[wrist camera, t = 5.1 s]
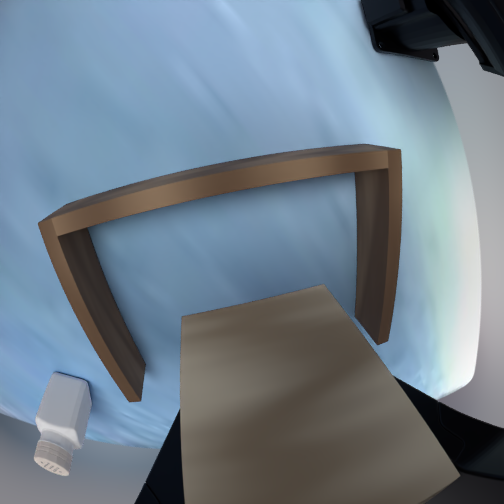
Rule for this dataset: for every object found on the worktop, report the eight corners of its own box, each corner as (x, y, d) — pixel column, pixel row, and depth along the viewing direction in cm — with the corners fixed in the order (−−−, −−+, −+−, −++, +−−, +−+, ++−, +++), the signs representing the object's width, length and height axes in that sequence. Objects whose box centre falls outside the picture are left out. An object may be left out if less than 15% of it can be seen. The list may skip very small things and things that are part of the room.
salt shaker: (51, 368, 20) (22, 448, 12) (89, 378, 21) (68, 465, 13) (59, 393, 21) (37, 468, 13) (93, 402, 23) (78, 482, 14)
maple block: (323, 284, 9) (460, 475, 3) (323, 375, 11) (396, 521, 4) (181, 316, 8) (192, 563, 2) (215, 402, 10) (244, 566, 4)
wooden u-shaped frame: (364, 143, 17) (401, 149, 14) (364, 313, 23) (388, 341, 20) (66, 204, 15) (37, 223, 12) (135, 365, 21) (129, 402, 18)
